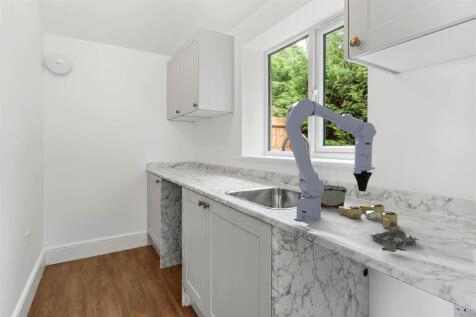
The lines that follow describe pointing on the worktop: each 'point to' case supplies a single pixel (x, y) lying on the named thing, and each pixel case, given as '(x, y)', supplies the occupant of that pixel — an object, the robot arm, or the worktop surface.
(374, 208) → the knob back
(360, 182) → the robot arm
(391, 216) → the knob right
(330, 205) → the food container
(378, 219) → the tribrach plate
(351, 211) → the knob left
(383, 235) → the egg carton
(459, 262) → the worktop surface
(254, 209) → the worktop surface
